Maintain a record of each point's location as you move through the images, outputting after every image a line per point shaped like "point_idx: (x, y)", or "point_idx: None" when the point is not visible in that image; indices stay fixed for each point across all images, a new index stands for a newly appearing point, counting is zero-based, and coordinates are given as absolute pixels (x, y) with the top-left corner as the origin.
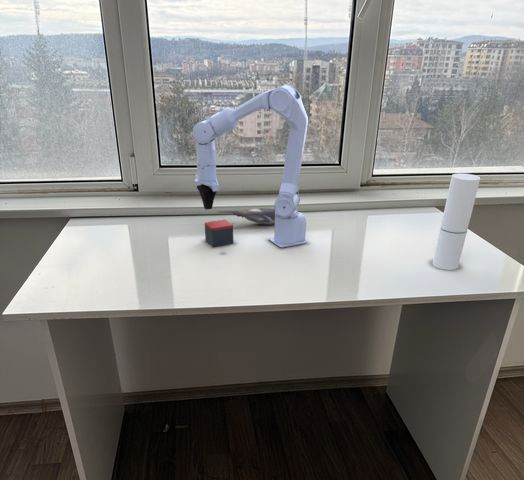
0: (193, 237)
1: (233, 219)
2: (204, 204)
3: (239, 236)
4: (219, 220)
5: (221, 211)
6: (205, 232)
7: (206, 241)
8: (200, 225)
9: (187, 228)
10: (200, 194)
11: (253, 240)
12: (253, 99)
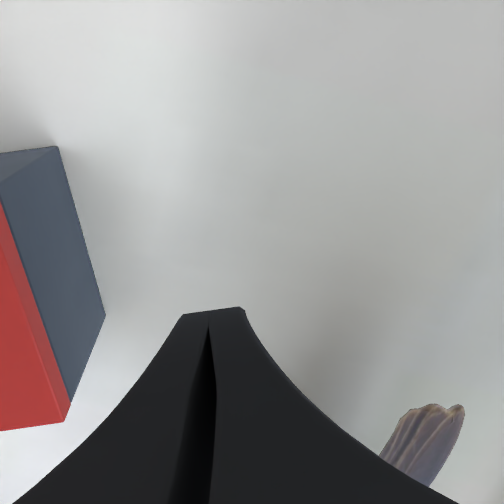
0: (179, 59)
1: (459, 444)
2: (185, 342)
3: (111, 405)
4: (35, 368)
5: (427, 433)
6: (16, 166)
7: (30, 149)
8: (456, 202)
9: (439, 67)
10: (321, 420)
11: (13, 462)
12: None
